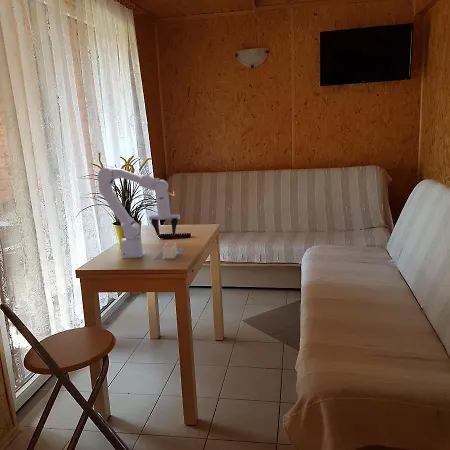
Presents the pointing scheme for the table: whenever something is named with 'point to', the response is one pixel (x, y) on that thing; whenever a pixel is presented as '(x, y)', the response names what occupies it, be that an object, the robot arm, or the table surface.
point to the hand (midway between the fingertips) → (166, 234)
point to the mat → (160, 257)
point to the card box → (169, 250)
